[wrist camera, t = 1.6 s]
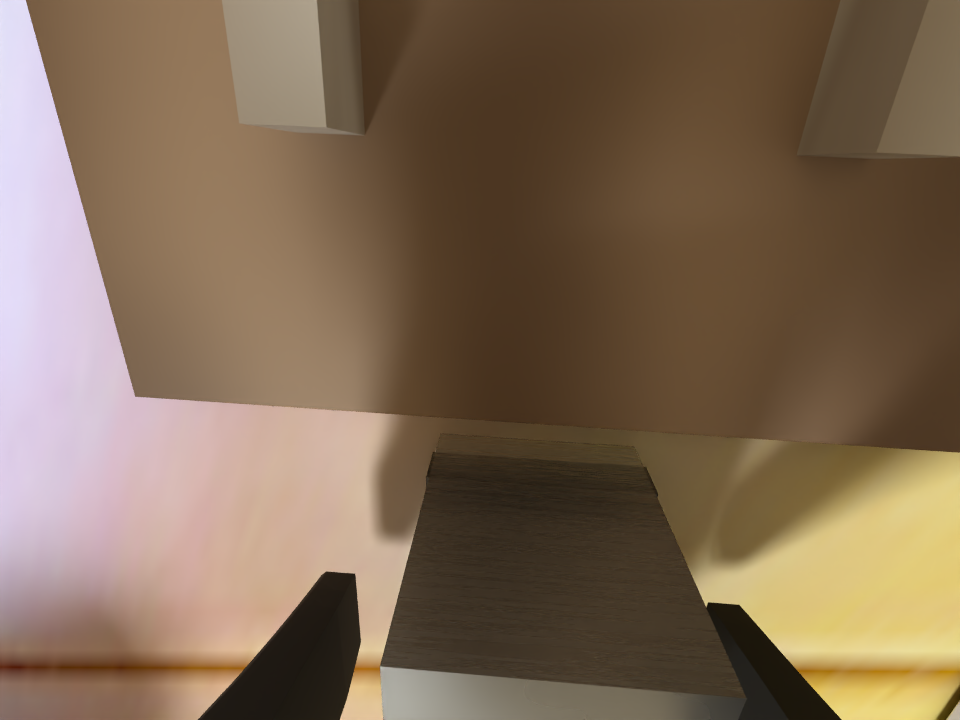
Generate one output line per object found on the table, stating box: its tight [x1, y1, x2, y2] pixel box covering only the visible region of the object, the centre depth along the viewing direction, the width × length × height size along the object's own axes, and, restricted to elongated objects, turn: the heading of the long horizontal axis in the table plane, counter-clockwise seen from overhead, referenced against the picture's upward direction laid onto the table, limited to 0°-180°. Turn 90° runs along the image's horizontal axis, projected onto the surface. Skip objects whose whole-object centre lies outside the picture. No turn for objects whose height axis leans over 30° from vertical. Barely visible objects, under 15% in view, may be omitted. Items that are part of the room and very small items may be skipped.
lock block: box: [380, 434, 747, 720], centre depth 9 cm, size 4×7×5 cm, turn 177°
